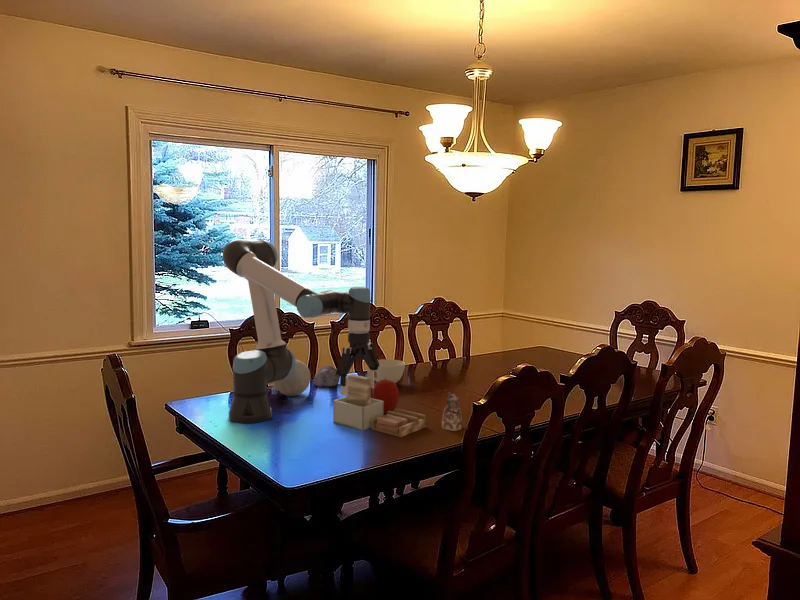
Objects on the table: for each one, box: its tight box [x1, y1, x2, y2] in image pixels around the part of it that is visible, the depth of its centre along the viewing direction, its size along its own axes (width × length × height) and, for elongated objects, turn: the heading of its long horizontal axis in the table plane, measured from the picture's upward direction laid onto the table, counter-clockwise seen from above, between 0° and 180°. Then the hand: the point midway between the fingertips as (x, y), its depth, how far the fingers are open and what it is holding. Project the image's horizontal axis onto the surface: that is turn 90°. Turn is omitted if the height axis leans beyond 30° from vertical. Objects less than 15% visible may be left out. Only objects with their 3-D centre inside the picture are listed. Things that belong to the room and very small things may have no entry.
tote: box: [332, 396, 384, 431], centre depth 219 cm, size 11×14×8 cm
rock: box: [312, 365, 340, 388], centre depth 273 cm, size 11×10×10 cm
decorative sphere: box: [273, 358, 311, 397], centre depth 255 cm, size 15×15×15 cm
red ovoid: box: [371, 377, 400, 415], centre depth 231 cm, size 10×10×14 cm
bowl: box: [374, 358, 406, 384], centre depth 274 cm, size 16×16×10 cm
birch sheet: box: [346, 373, 372, 407], centre depth 219 cm, size 2×9×16 cm, turn 52°
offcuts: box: [376, 414, 409, 433], centre depth 212 cm, size 7×10×3 cm
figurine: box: [441, 391, 463, 432], centre depth 215 cm, size 7×7×12 cm
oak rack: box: [370, 407, 427, 438], centre depth 214 cm, size 14×13×4 cm
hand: (357, 391), depth 219 cm, fingers open, 13 cm apart
